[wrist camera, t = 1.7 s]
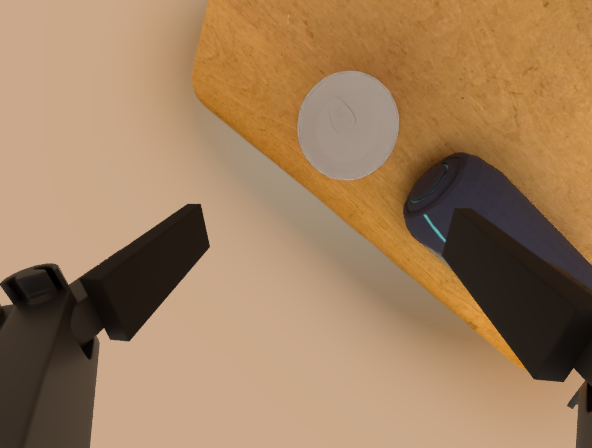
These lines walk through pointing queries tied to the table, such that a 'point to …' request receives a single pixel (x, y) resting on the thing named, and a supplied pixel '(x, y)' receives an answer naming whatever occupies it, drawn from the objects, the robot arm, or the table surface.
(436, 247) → the portable speaker
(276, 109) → the table surface
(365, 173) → the canned food
